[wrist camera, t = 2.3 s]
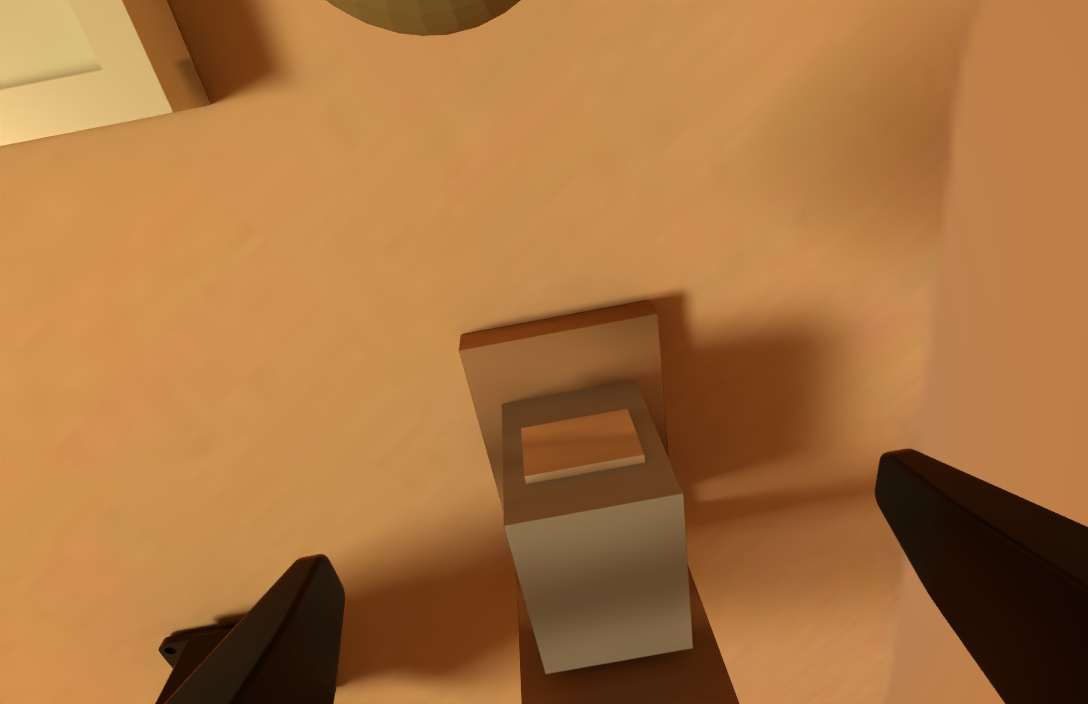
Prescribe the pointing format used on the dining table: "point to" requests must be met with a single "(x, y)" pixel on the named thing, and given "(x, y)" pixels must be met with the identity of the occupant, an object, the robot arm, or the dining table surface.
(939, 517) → the robot arm
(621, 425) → the bookend
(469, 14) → the light bulb
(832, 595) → the dining table surface
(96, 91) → the tray
